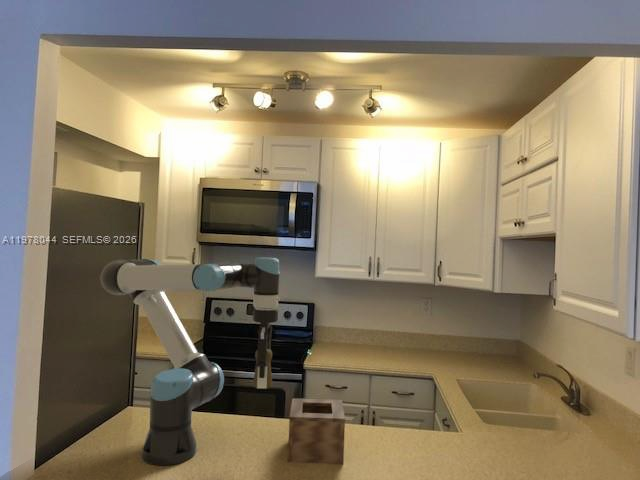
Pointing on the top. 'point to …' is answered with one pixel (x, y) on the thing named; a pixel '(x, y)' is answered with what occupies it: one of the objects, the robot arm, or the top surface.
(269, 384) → the cork
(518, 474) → the top surface
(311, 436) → the walnut box
